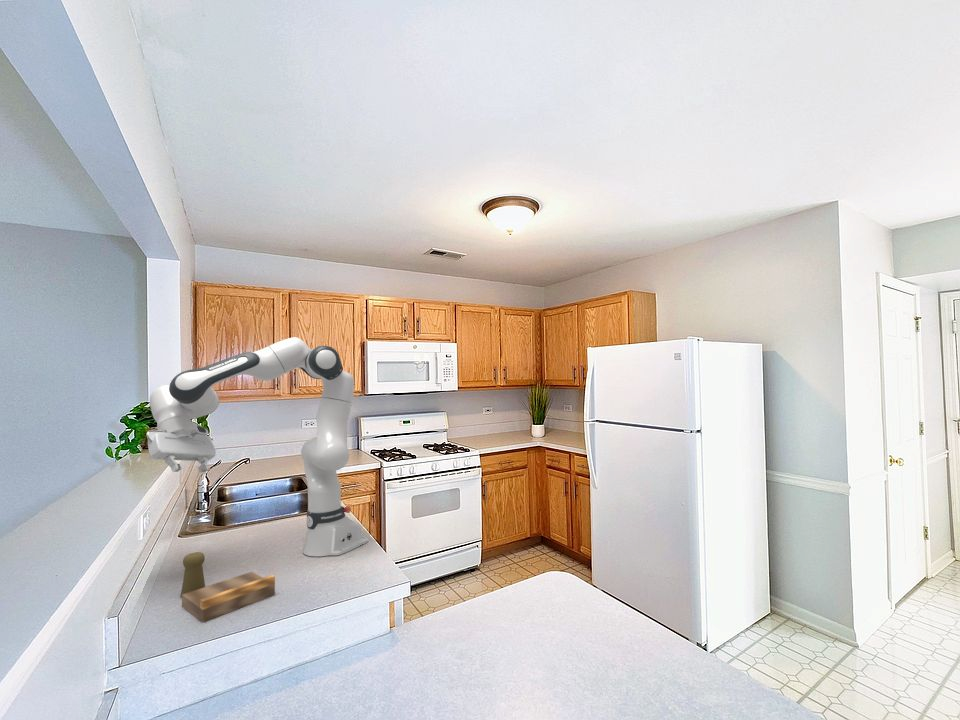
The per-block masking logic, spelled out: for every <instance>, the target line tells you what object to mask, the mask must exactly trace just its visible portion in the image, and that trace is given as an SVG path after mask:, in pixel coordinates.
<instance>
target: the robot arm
mask: <svg viewBox="0 0 960 720" xmlns="http://www.w3.org/2000/svg"><path fill="white" fill-rule="evenodd" d="M298 368H300V370H302V372H304V373H305V374H306V375H307V376H308V377H310V378H312V379H316V380H321V381H322V385H323V386H322V393H321V397H320V399H319V405H318V407H317V408H318V409H317V414H316V417H315V421H316V429H317V432H316V436H315V437H313V438H310V439H308V440H306V441H305V442H304V443H303V445H302V447H301V449H300V450H301V451H300V454H301V455H300V456H301V458H302V462H303V467H304V474H305V478H306V479H305V480H306V484H307V485H306V486H307V510H306V528H307V530H306V538H305V542H304V543H305V544H304V548H303V550H302V551H303V554H304V555H305V556H308V557H326V556H327V557H329V556H341V555H343V554H345V553H348V552H350V551H352V550H354V549H356V548H358V547H361V546H362V544H363V545H365V544H367V543H368V542H369V538H368V537H367V536H366V535H363V533H362V529H361V526H360V525H359V523H358V522H356V521H354V520H353V519H351V518H350V517H348V516H346V513H347V514H349V513H351V510H352V509H351V507H350V506H342V496H341V495H342V494H341V493H342V491H341V490H342V488H341V487H342V486H341V482H340V480H339V477H338V473H337V471H339V470H341V469H343V468H344V467H346V465H347V464H348V463H349V459H350V451H349V449H348V424H349V423H348V422H349V418H350V413H351V408H352V404H353V398H354V391H355V390H354V389H355V379H354V377H353V375H352V374H351V373H349V372H347V371H345V370H344V367H343V364H342V361H341V358H340V355H339V353H338V351H337V350H336V349H335V348H334V347H332V346H329V345H319V346H317V347H315V348H309V347H308V345H307V344H306V343H305V342H304V340H303V339H301V338H299V337H295V336H293V337H289V338H286V339H282V340H279V341H276V342H274V343H272V344H269V345H268V346H266V347H263V348H261V349H258V350H256V351H247V352H242V353H239V354H236V355H233V356H230V357H228V358H225V359H222V360H220V361H217V362H214V363H212V364H209V365H206V366H203V367H199V368H194V369H187V370H185V371H181V372H180V373H178V374H176V375H175V376H174V377H173V378H172V379H171V381H170V383H169V384H164V385H161V386H159V387H157V388H155V389H154V390H153V391H152V392H151V394H150V397H149V405H150V410H151V411H150V412H151V414H152V418H153V419H154V420H155V422H156V423H157V424H156V429H153V428H152V429H149V430H148V431H146V437H147V448H148V454H149V456H150V458H152V459H154V460H161V461H162V460H163V461H164V462H165V464H166V465H168V467H170V468H171V472H173V473H174V472H176V473H178V472H179V471H182V466H181V463H178V462H177V461H185V462H186V461H187V462H188V461H189V462H190V461H191V462H198V464H200V466H199V467H198V468H197V469H198V471H199V473H206V472H208V469H209V468H208V462H209V461H211V460H212V459H213V458H215V457H216V454H217V453H216V449H215V446H214V443H213V440H212V439H211V438H210V436H209V431H208V429H207V428H206V427H203V426H202V425H199V424H197V423H195V422H194V421H192V420H195V419H198V418H202V417H206V416H208V415H210V414H212V413H213V412H215V411H216V410H217V409H218V407H219V404H220V398H219V397H220V396H219V395H218V394H217V393H216V391H215V389H214V388H213V386H216V385H217V384H220V383H222V382H224V381H227V380H229V379H232V378H234V377H237V376H242V375H246V376H251V377H253V378H255V379H257V380H259V381H265V382H268V381H271V380H275V379H278V378H280V377H282V376H284V375H285V374H287V373H289V372H291V371H293V370H296V369H298ZM360 545H361V546H360Z"/></svg>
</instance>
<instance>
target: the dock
mask: <svg viewBox="0 0 960 720" xmlns="http://www.w3.org/2000/svg"><path fill="white" fill-rule="evenodd" d="M275 595H276V576H275V575H273V574H270V575H268V576H265V577H263V576H261V575H259V574H257V573H255V572H253V571H249V572H247V573H244V574H240V575H238V576H234V577H232V578H228V579H225V580H222V581H219V582H216V583H214V584H213V583H212V584H211V585H208V586H205V587H204V588H201V589H198V590H195V591H192V592H189V593H186V594H183V595H182V598H181V607H182V608H183V609H185V610H186V611H187V612H188V613H190V615H192V616H193V617H195V618H196V619H198V621H200V622H201V623H205V622H207V621H211V620H213V619H216V618H218V617H220V616H223V615H225V614H228V613H231V612H234V611H237V610H239V609H242V608H244V607H247V606H250V605H252V604H254V603H257V602H259V601H262V600H264V599H267V598H269V597H270V598H271V597H273V596H275Z"/></svg>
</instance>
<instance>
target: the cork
mask: <svg viewBox="0 0 960 720" xmlns="http://www.w3.org/2000/svg"><path fill="white" fill-rule="evenodd" d="M204 562H205V554H204V553H203V552H200V551H199V552H197V551H196V552H191V553H187V554H186V555H185V556H184V558H183V559H182V566H183V567H184V572H183V579H182V586H181V591H180V598H181V599H182V595H183V594H186V593H189V592H192V591H195V590H198V589H201V588H204V587H206V581H205V574H204V569H203V563H204Z"/></svg>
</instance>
